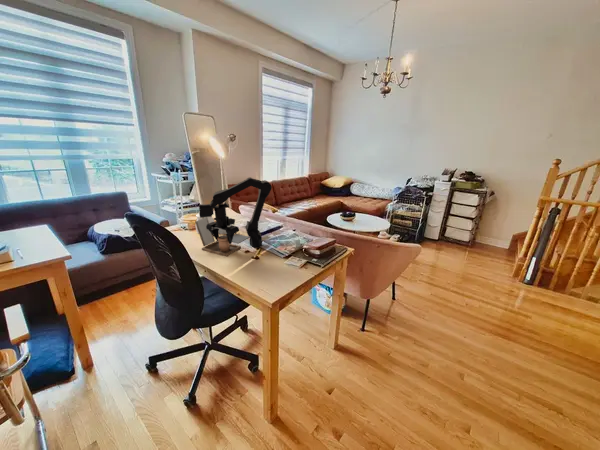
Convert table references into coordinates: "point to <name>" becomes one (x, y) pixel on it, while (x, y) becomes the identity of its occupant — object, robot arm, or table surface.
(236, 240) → the slate tile
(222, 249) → the terracotta pot
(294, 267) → the table surface
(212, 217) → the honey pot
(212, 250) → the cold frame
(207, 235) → the propped lid
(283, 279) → the table surface
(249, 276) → the table surface
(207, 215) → the robot arm
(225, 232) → the small box
